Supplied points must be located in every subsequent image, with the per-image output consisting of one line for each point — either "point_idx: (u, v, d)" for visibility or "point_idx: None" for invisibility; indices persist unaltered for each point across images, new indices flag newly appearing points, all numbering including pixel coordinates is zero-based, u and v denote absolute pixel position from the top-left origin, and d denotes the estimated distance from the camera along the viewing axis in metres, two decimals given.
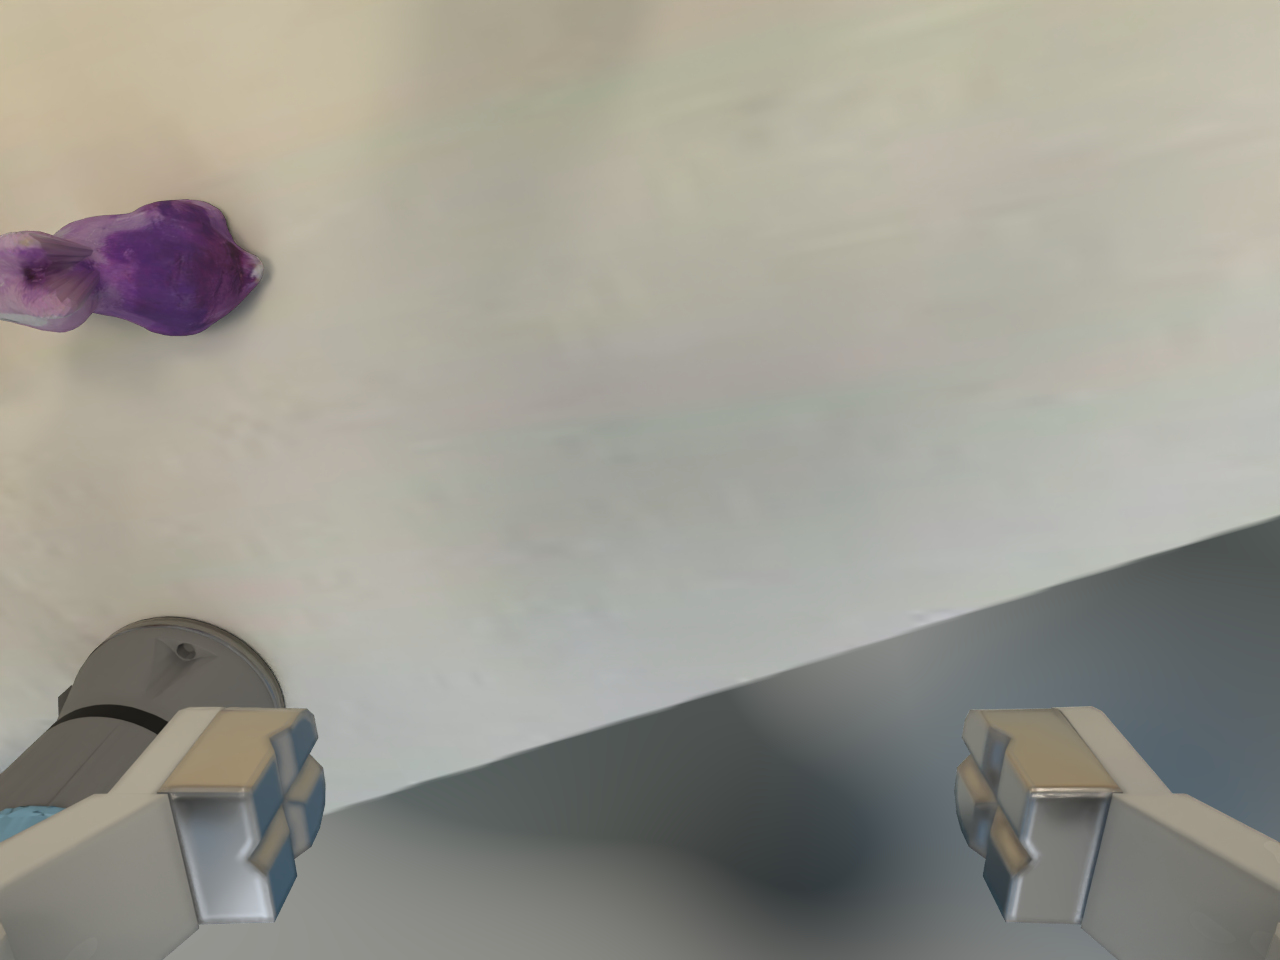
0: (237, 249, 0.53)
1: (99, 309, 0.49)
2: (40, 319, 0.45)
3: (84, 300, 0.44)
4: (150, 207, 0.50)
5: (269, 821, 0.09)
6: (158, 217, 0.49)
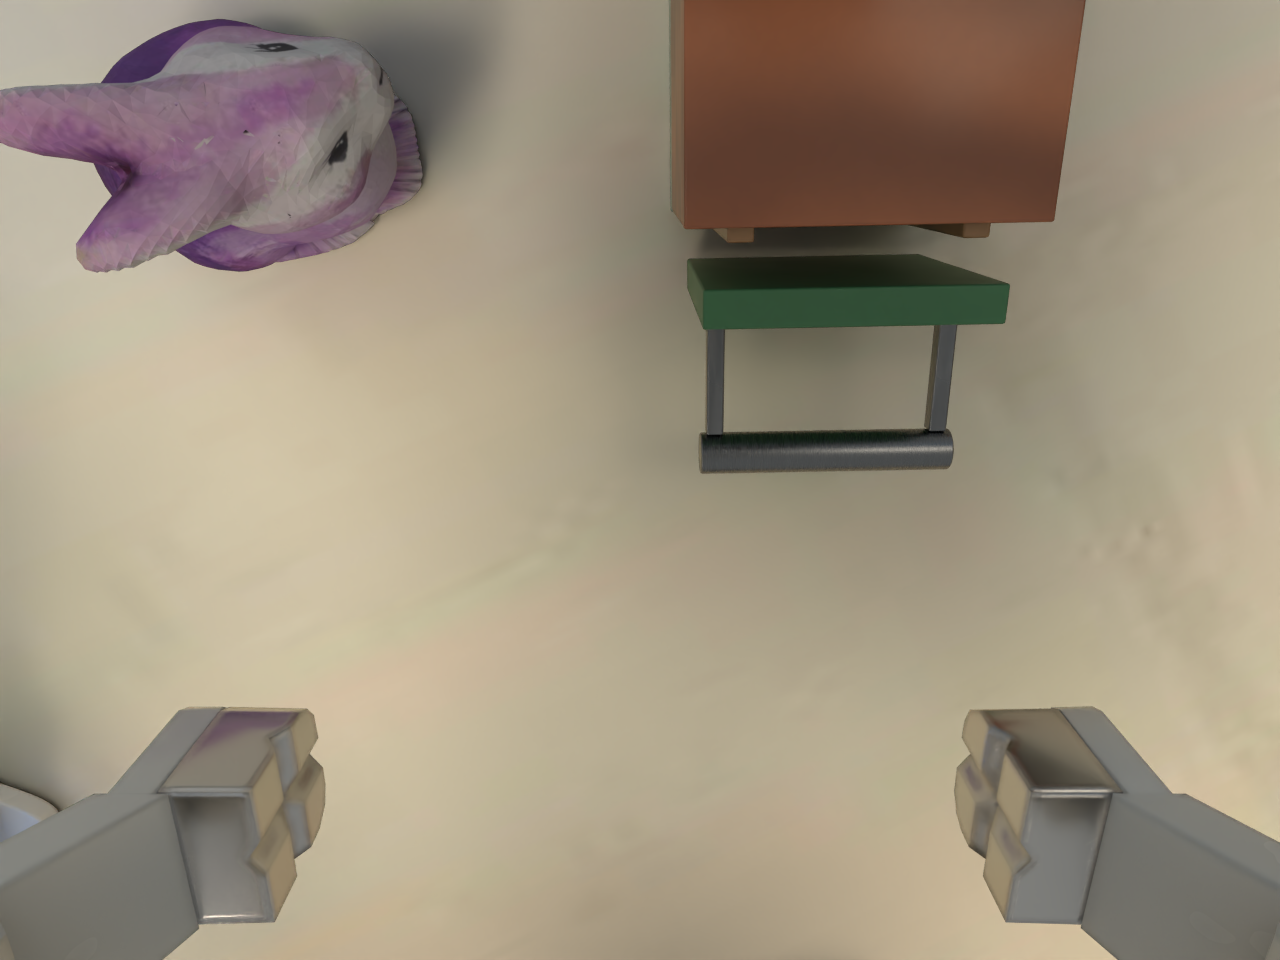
0: None
1: None
2: (172, 64, 0.21)
3: None
4: (241, 263, 0.30)
5: (269, 821, 0.09)
6: (207, 253, 0.29)
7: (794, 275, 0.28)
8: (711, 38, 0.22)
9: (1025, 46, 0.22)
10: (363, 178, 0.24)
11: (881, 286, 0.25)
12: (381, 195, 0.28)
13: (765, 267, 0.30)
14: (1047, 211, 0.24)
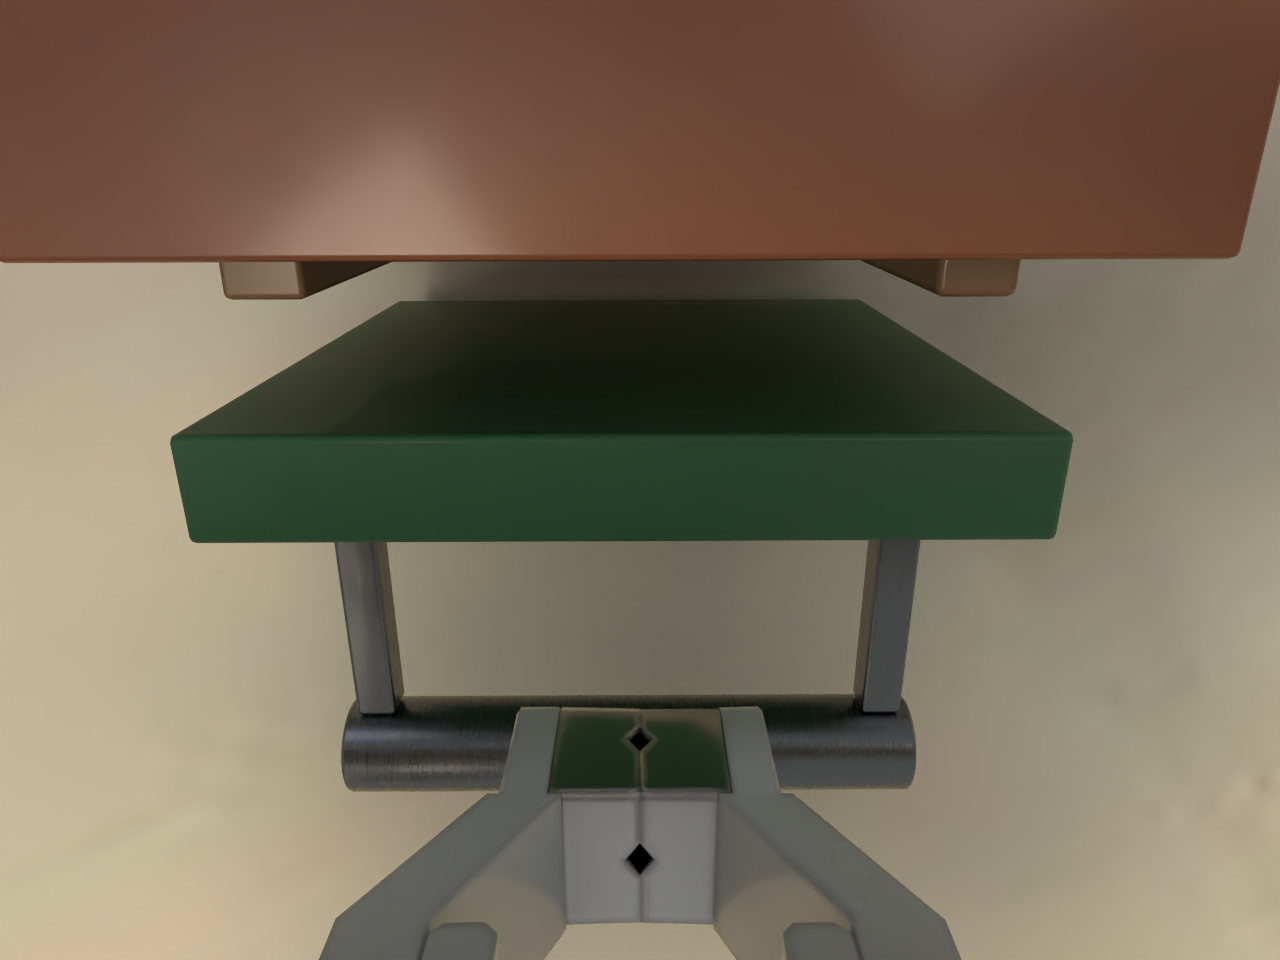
0: None
1: None
2: None
3: None
4: None
5: None
6: None
7: (523, 368, 0.11)
8: None
9: None
10: None
11: (696, 433, 0.09)
12: None
13: (502, 334, 0.13)
14: (1220, 224, 0.07)
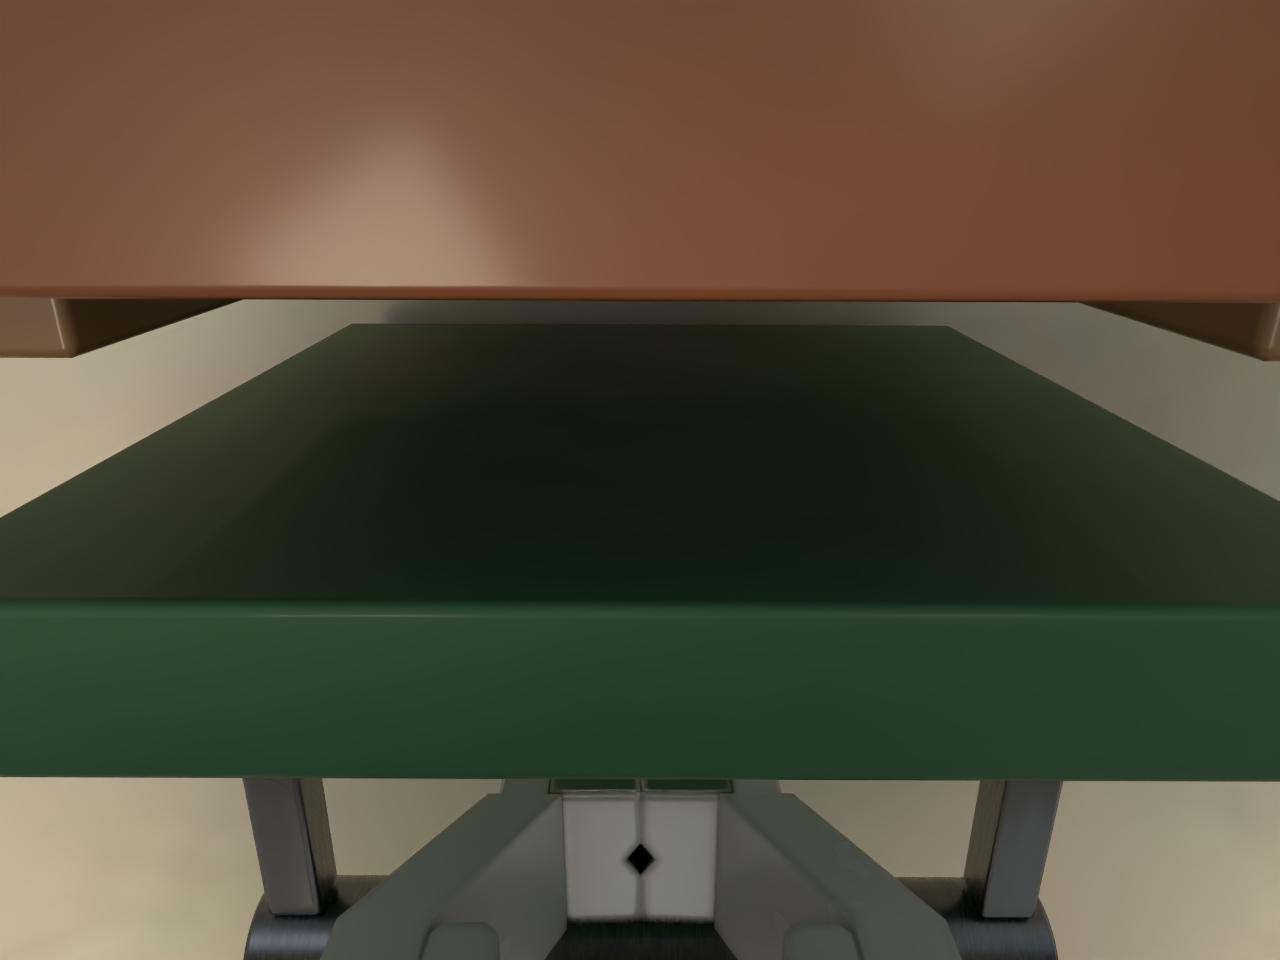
0: None
1: None
2: None
3: None
4: None
5: None
6: None
7: (500, 442, 0.07)
8: None
9: None
10: None
11: (799, 602, 0.05)
12: None
13: (477, 378, 0.10)
14: None
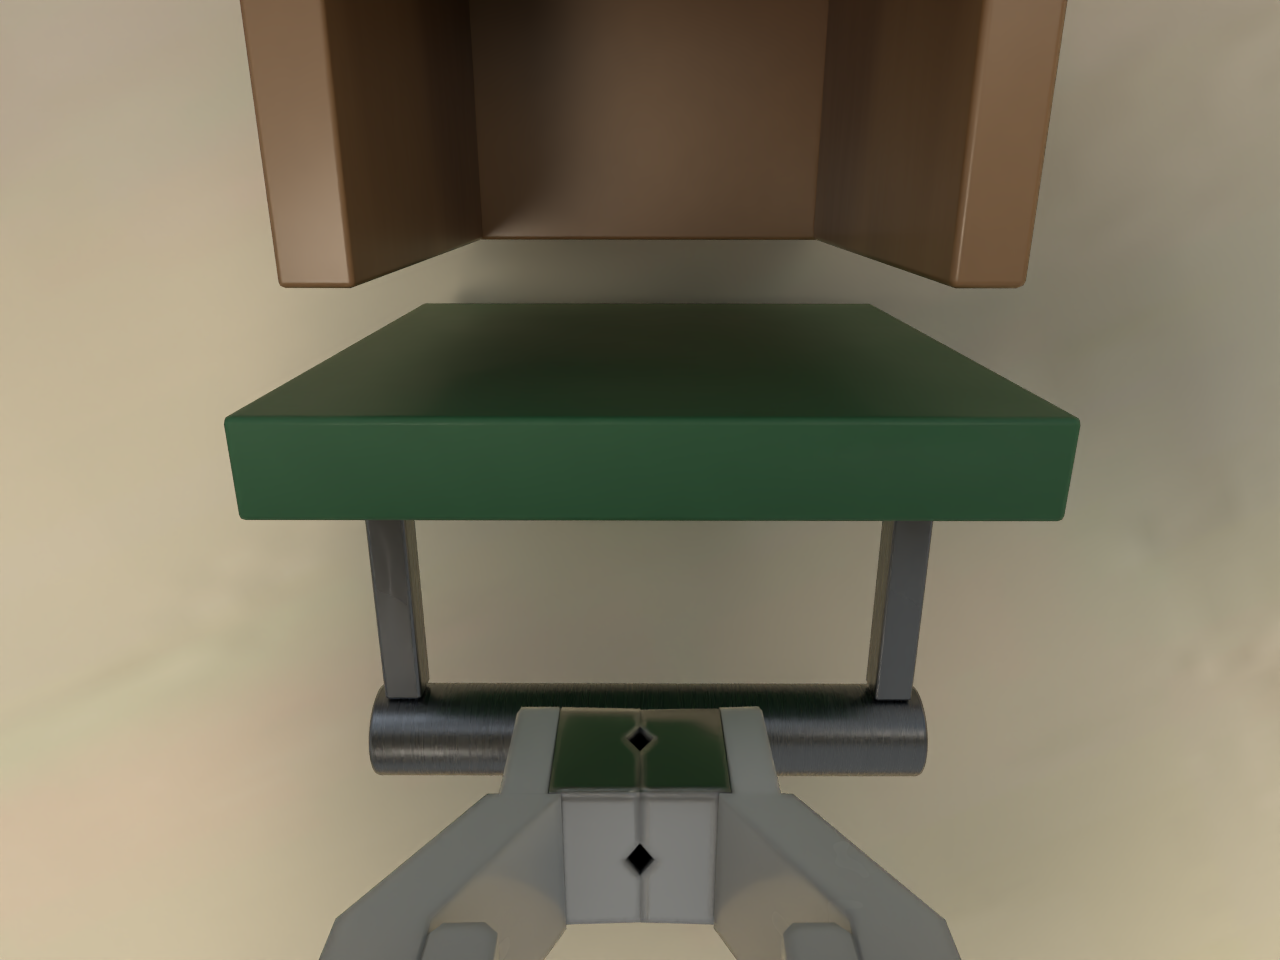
0: None
1: None
2: None
3: None
4: None
5: None
6: None
7: (551, 361, 0.12)
8: None
9: None
10: None
11: (722, 417, 0.09)
12: None
13: (527, 332, 0.14)
14: None
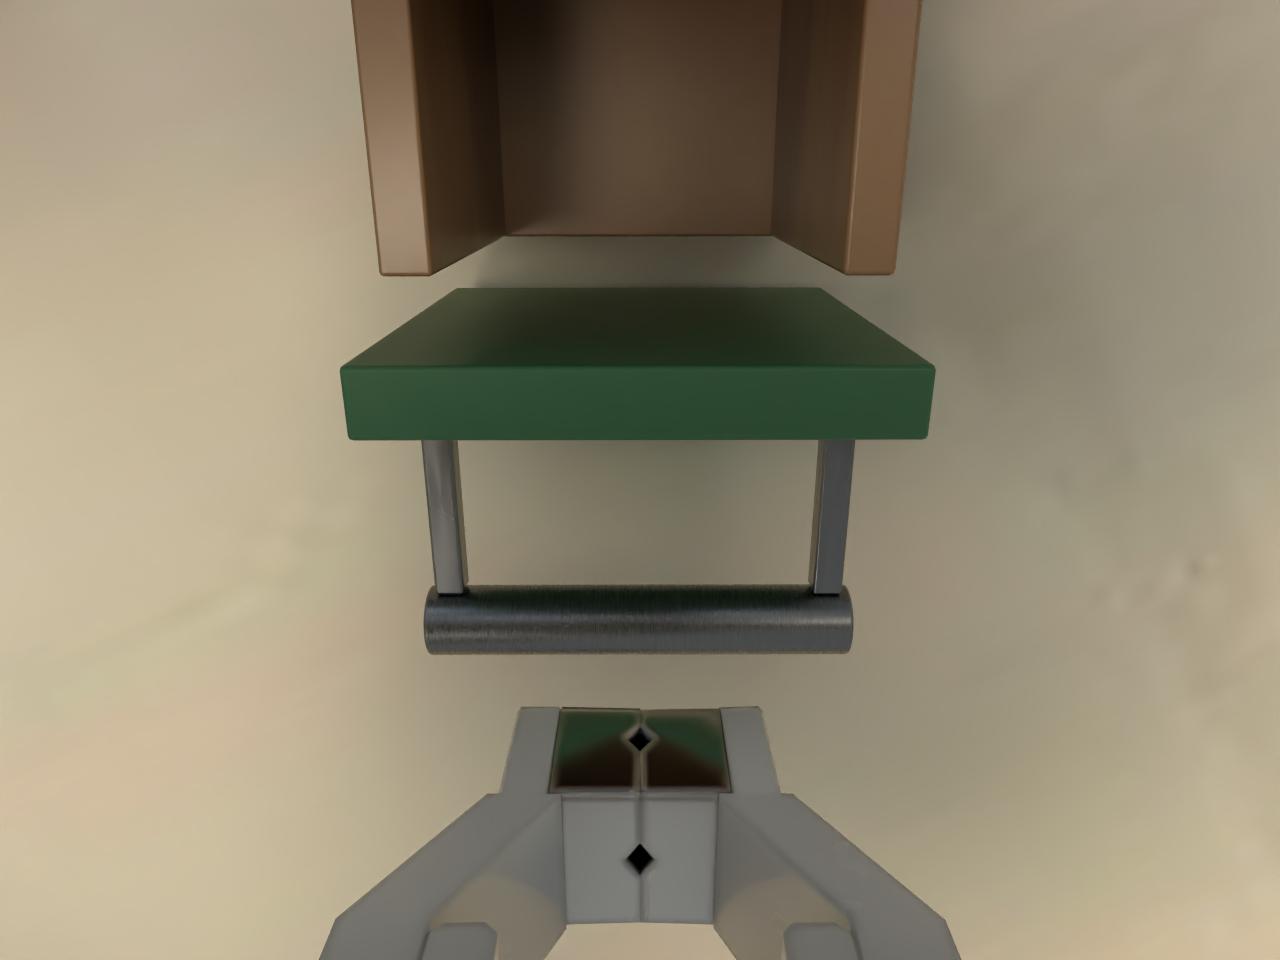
0: None
1: None
2: None
3: None
4: None
5: None
6: None
7: (564, 330, 0.16)
8: None
9: None
10: None
11: (687, 365, 0.13)
12: None
13: (544, 310, 0.18)
14: None
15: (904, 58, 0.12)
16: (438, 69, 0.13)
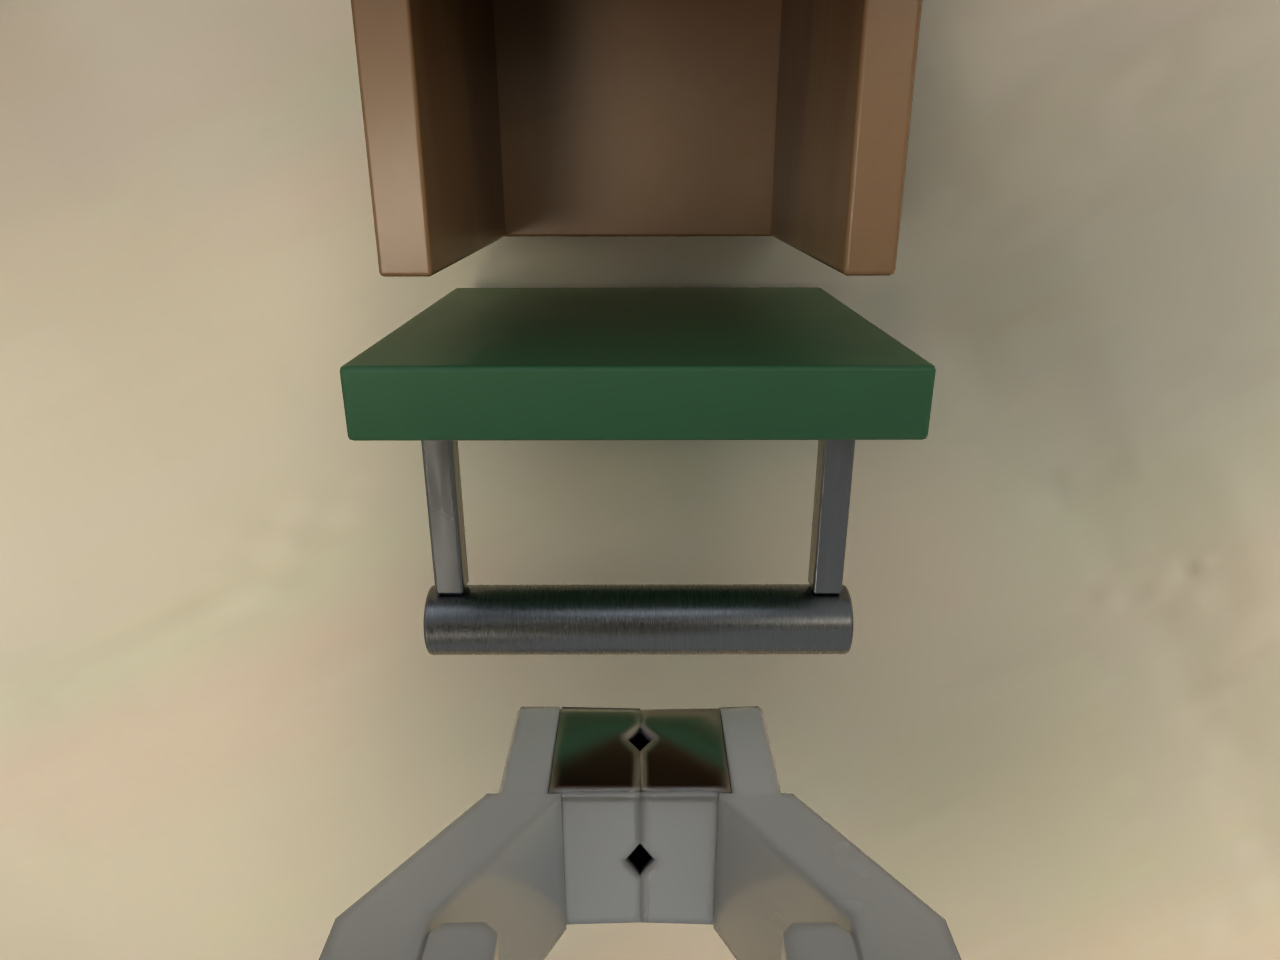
0: None
1: None
2: None
3: None
4: None
5: None
6: None
7: (564, 331, 0.16)
8: None
9: None
10: None
11: (687, 366, 0.13)
12: None
13: (544, 310, 0.18)
14: None
15: (904, 58, 0.12)
16: (438, 69, 0.13)
